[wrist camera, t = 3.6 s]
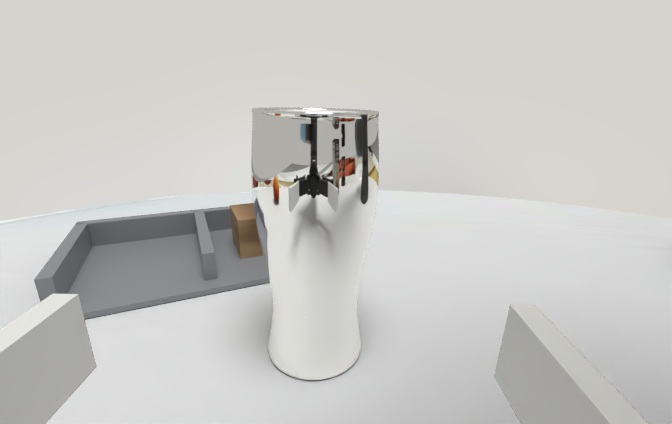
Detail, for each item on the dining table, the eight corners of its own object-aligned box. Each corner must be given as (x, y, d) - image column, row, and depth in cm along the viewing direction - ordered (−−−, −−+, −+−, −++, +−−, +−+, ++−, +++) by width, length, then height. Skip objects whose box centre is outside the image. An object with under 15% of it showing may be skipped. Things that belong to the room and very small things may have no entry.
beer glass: (273, 311, 26) (264, 106, 21) (364, 315, 26) (376, 109, 21) (248, 385, 19) (228, 110, 14) (371, 390, 19) (391, 114, 14)
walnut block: (277, 233, 39) (276, 200, 38) (290, 251, 35) (289, 214, 33) (232, 240, 37) (230, 205, 36) (240, 259, 33) (237, 220, 31)
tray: (294, 221, 44) (293, 199, 44) (338, 268, 32) (339, 240, 32) (83, 248, 35) (77, 221, 34) (38, 328, 23) (26, 290, 22)
